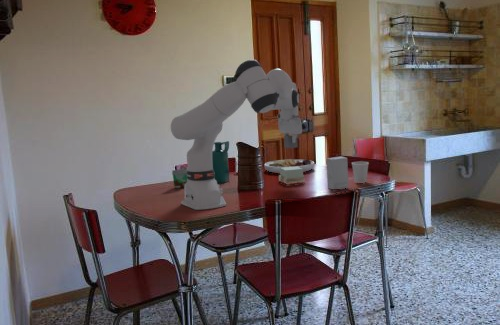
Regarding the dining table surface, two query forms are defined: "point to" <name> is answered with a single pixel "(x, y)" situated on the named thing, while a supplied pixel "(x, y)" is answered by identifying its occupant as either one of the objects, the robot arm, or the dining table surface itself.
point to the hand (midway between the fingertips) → (290, 142)
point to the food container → (180, 177)
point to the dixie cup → (360, 171)
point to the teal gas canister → (221, 162)
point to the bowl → (288, 165)
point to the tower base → (291, 179)
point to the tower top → (291, 172)
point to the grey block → (289, 142)
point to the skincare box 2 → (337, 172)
